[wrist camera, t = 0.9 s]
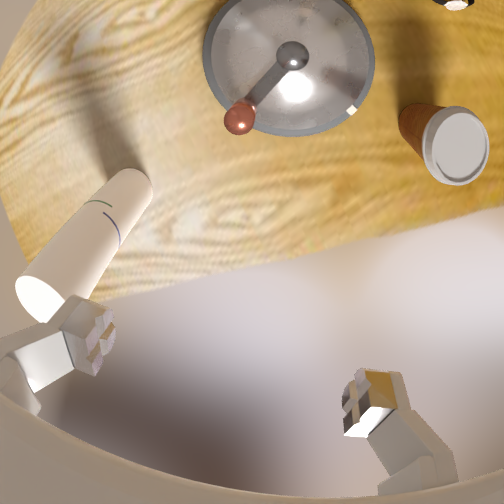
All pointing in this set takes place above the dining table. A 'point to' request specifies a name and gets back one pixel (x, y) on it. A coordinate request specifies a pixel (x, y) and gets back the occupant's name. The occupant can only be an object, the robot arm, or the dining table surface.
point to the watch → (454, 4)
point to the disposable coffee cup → (446, 141)
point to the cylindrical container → (84, 245)
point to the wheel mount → (272, 130)
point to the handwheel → (288, 63)
